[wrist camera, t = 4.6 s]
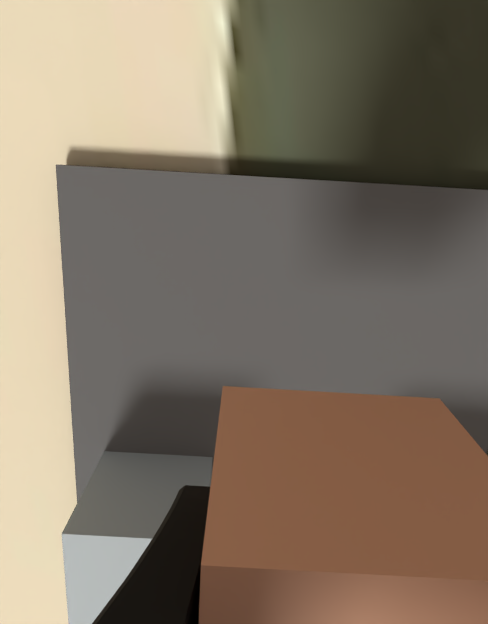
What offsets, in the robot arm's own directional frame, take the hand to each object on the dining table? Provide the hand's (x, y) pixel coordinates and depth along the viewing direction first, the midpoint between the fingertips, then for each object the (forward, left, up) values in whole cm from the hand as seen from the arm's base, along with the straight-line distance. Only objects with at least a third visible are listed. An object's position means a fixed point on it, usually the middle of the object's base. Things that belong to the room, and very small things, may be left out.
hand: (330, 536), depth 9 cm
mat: (-3, 0, -10) cm, 10 cm away
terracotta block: (0, 0, -1) cm, 1 cm away
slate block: (-7, +5, -9) cm, 13 cm away
